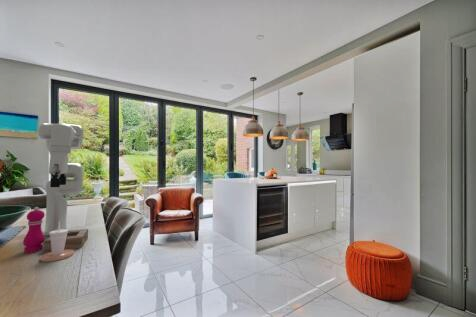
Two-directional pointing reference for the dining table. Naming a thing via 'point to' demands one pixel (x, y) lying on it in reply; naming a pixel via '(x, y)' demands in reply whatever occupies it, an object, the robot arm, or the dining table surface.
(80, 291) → the dining table surface
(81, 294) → the dining table surface
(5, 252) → the dining table surface
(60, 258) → the tan round disc
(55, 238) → the smoothie
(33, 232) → the pepper mill
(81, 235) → the bottle holder
